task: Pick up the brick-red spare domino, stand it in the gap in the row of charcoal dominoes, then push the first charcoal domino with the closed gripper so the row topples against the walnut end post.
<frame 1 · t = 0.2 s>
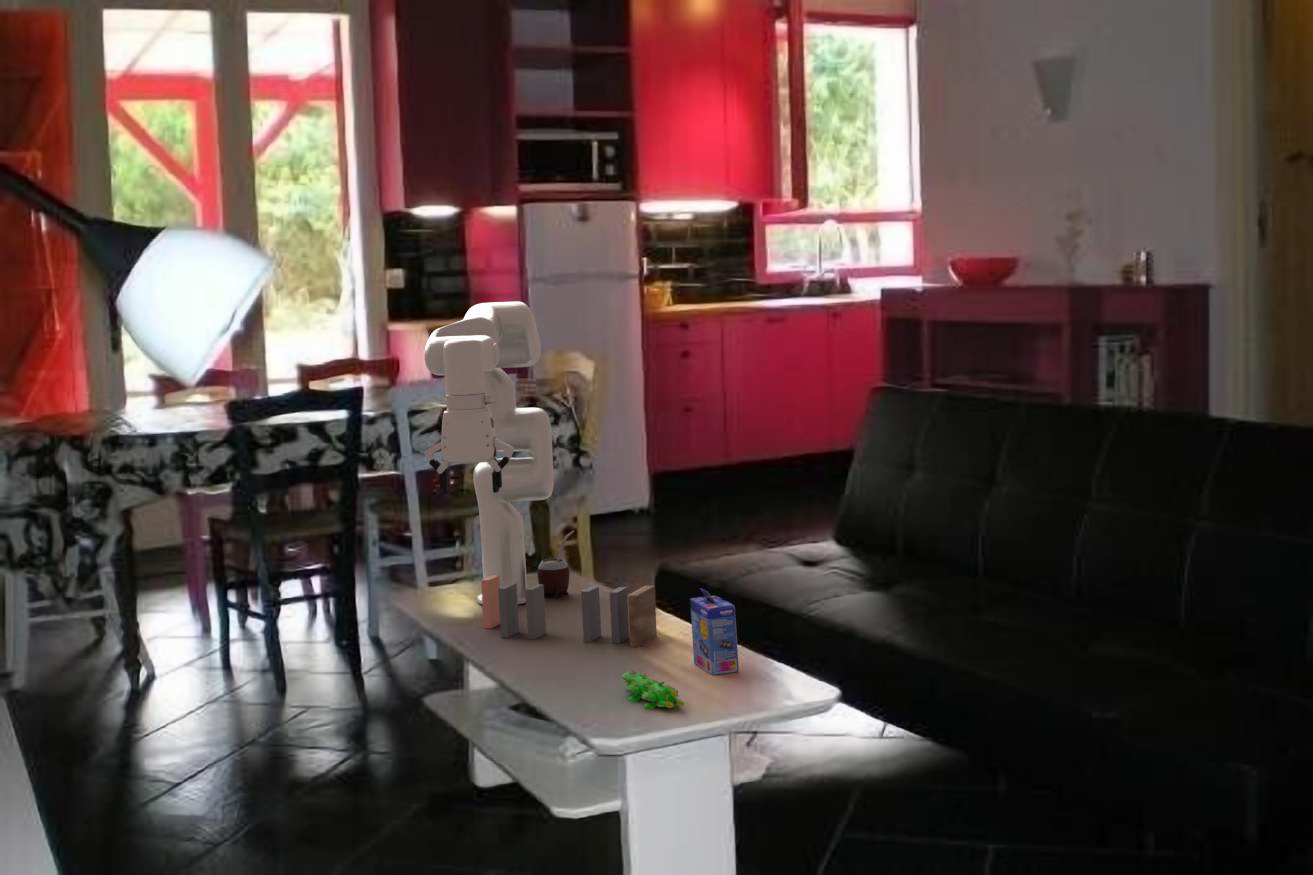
hand: (471, 492, 302), 31 cm above the table, tool pointing down, fingers open, 9 cm apart
mate gourd: (556, 596, 352), on the table
spare domino: (493, 625, 325), on the table
end post: (643, 641, 306), on the table
ink cartridge box: (715, 668, 284), on the table
domino 5: (620, 640, 308), on the table
domino 4: (592, 638, 310), on the table
domino 2: (537, 636, 314), on the table
domino 1: (510, 634, 316), on the table
green bumpy elongated piece: (652, 703, 264), on the table
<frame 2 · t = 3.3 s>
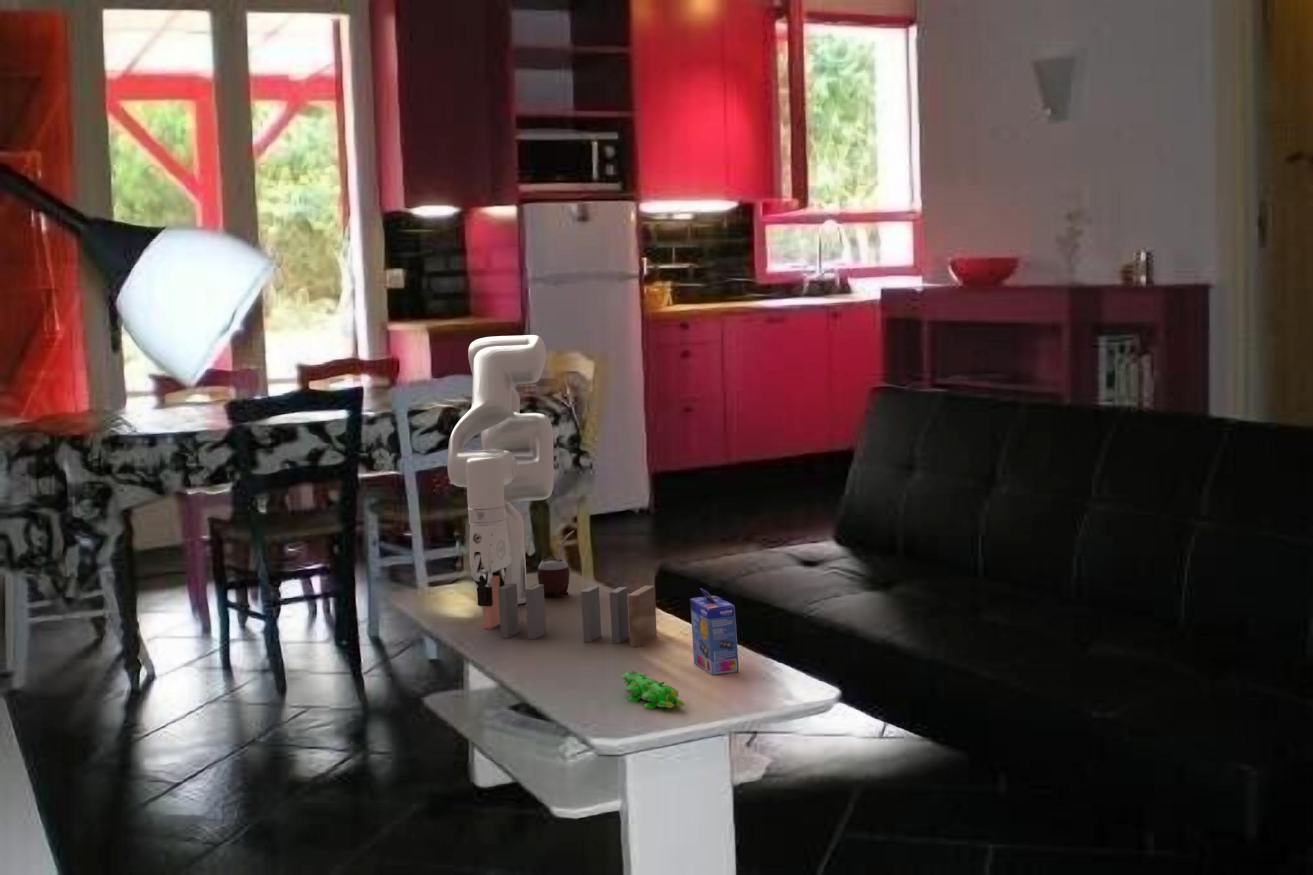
hand: (491, 601, 325), 5 cm above the table, tool pointing down, fingers closed on spare domino, 4 cm apart
spare domino: (493, 625, 325), on the table, touching gripper
everything else where it was.
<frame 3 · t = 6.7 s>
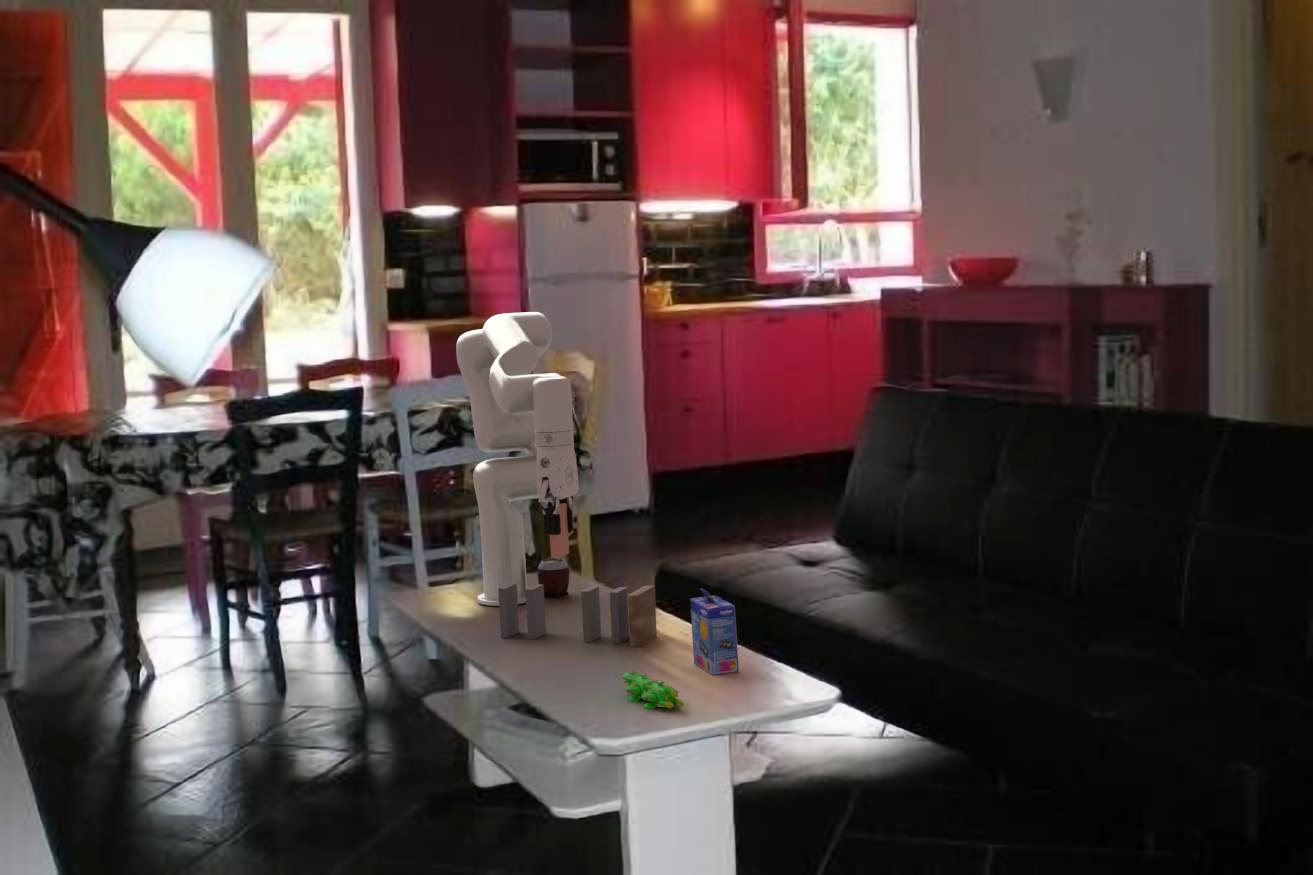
hand: (559, 530, 310), 21 cm above the table, tool pointing down, fingers closed on spare domino, 4 cm apart
spare domino: (560, 555, 310), point 16 cm above the table, touching gripper
everything else where it was.
when the fingers open (6 cm above the table, at t = 10.0 s): spare domino stays where it is, on the table.
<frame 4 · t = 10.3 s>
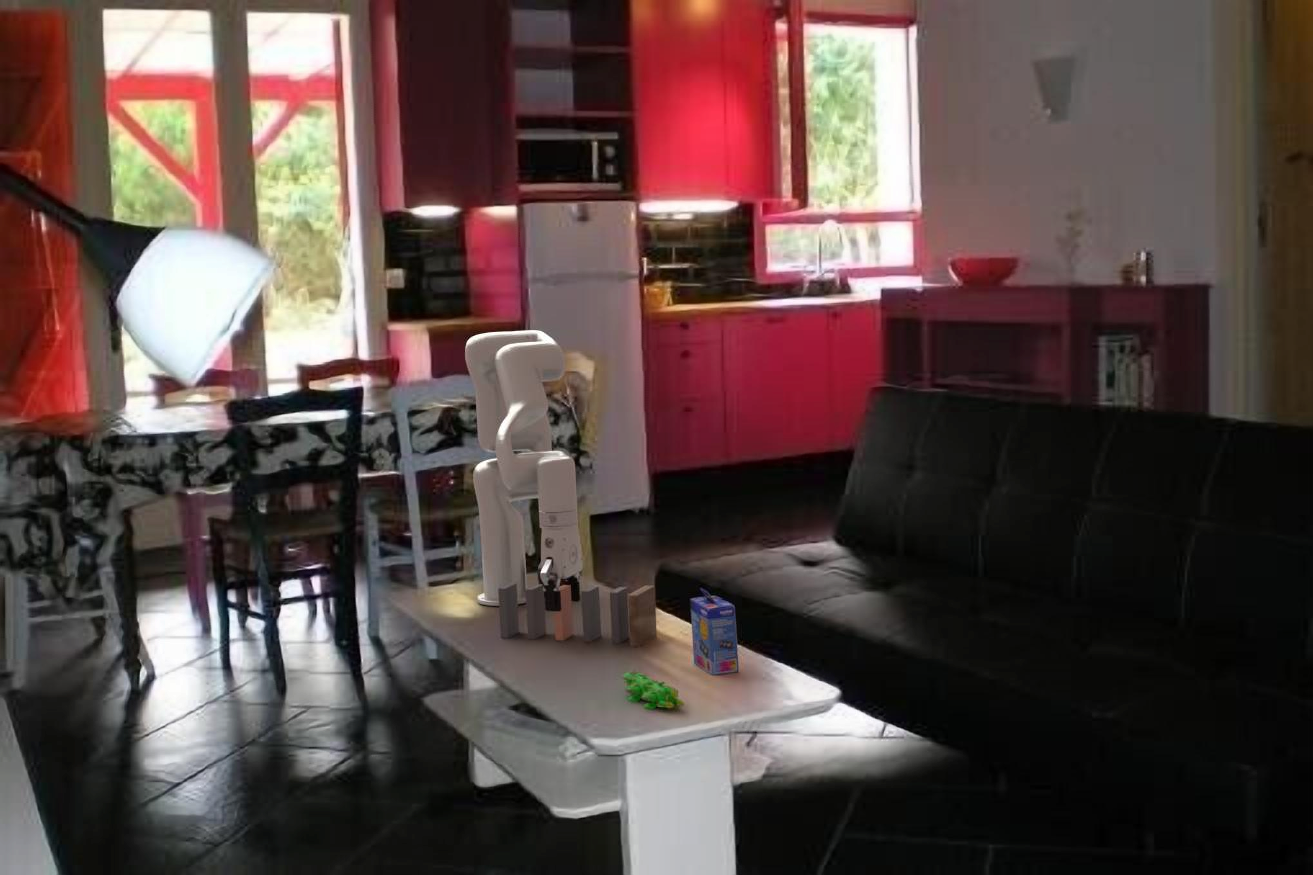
hand: (563, 605, 311), 6 cm above the table, tool pointing down, fingers open, 8 cm apart
spare domino: (564, 637, 312), on the table
everything else where it was.
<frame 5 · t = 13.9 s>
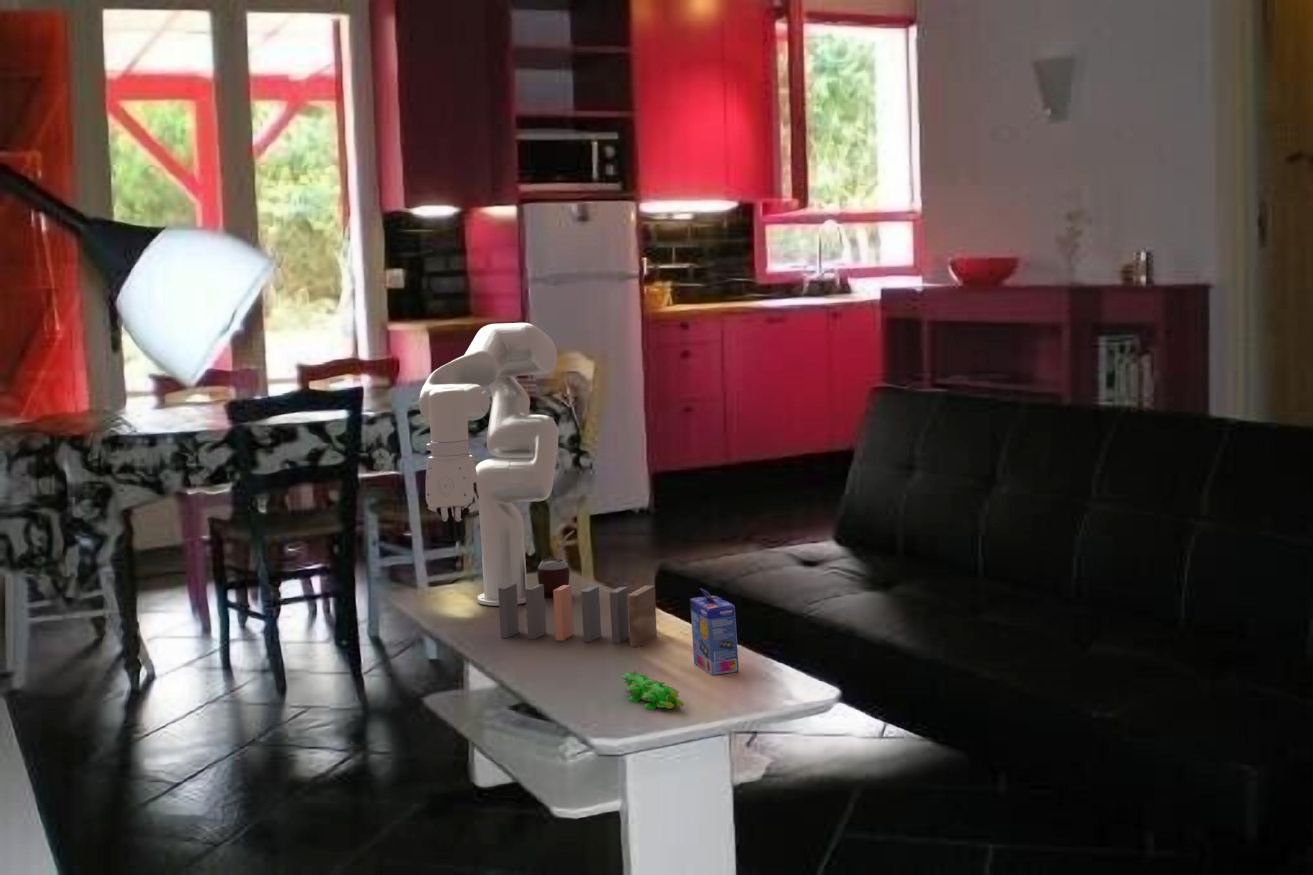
hand: (455, 539, 318), 19 cm above the table, tool pointing down, fingers closed
nothing on the table moved.
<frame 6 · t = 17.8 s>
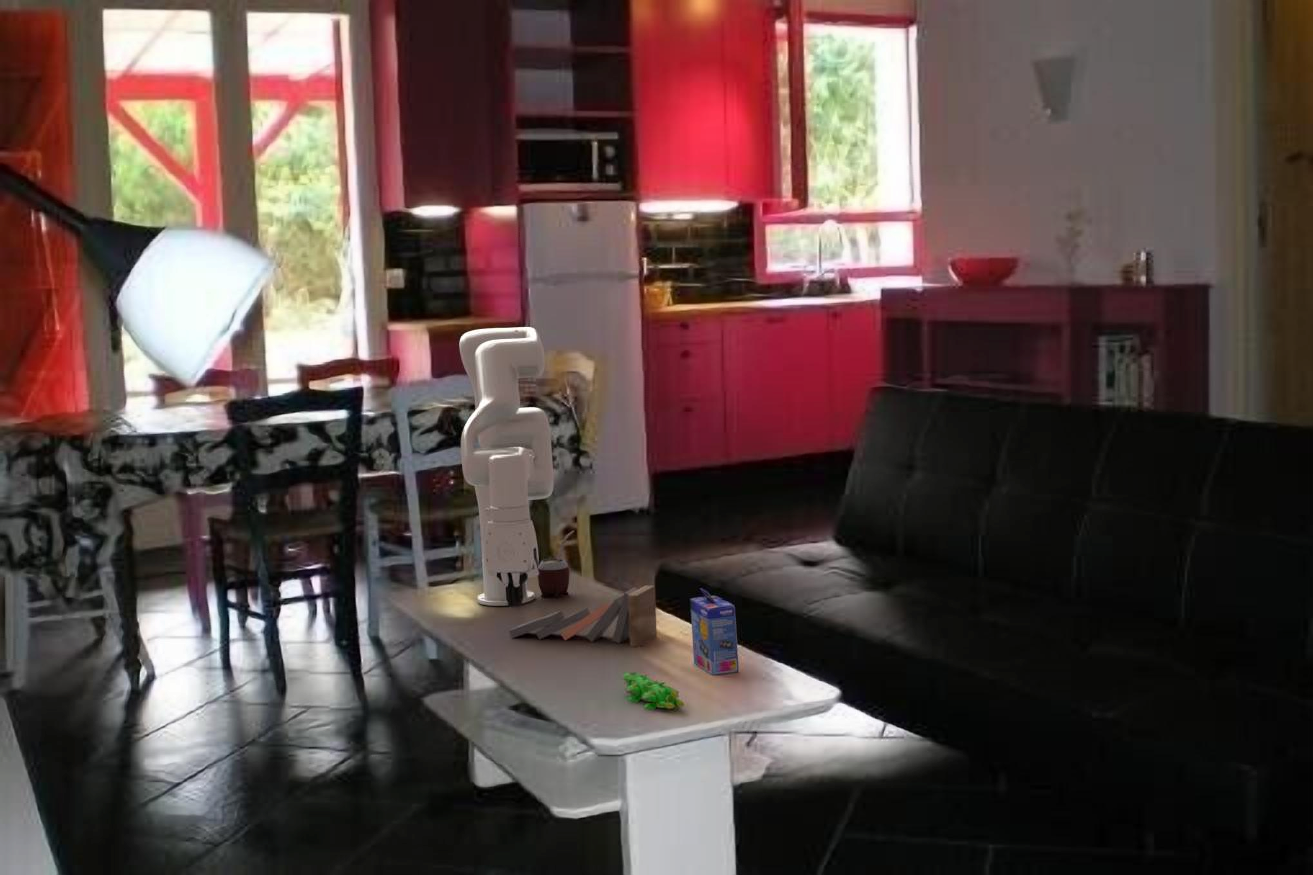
hand: (515, 604, 315), 6 cm above the table, tool pointing down, fingers closed
spare domino: (568, 634, 312), point 1 cm above the table, tilted 57°, touching domino 2, domino 4
domino 5: (620, 638, 308), on the table, tilted 18°, touching domino 4, end post
domino 4: (593, 636, 310), point 1 cm above the table, tilted 41°, touching domino 5, spare domino
domino 2: (542, 632, 314), point 1 cm above the table, tilted 65°, touching domino 1, spare domino
domino 1: (515, 631, 316), point 1 cm above the table, tilted 71°, touching domino 2
everything else where it was.
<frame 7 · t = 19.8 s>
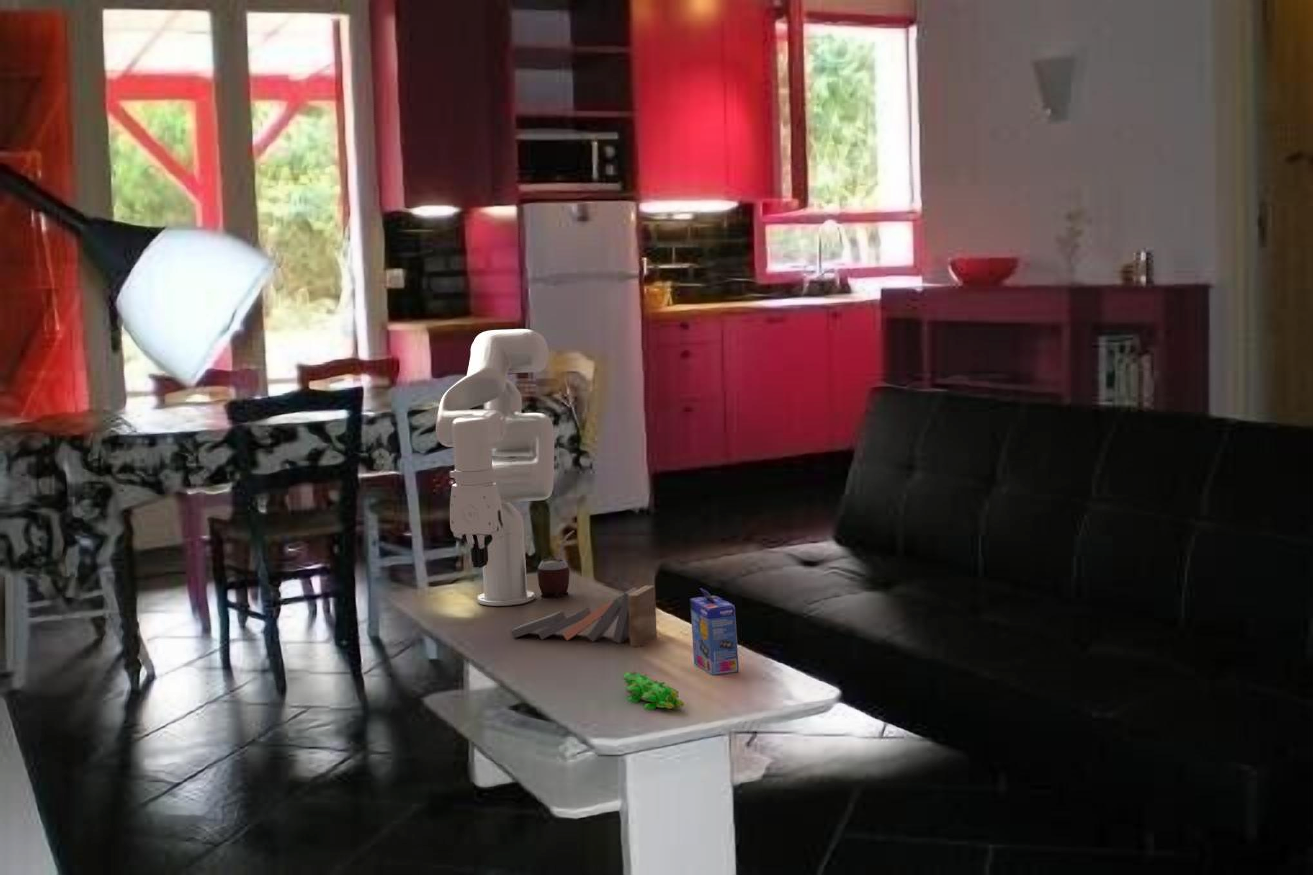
hand: (480, 565, 320), 13 cm above the table, tool pointing down, fingers closed
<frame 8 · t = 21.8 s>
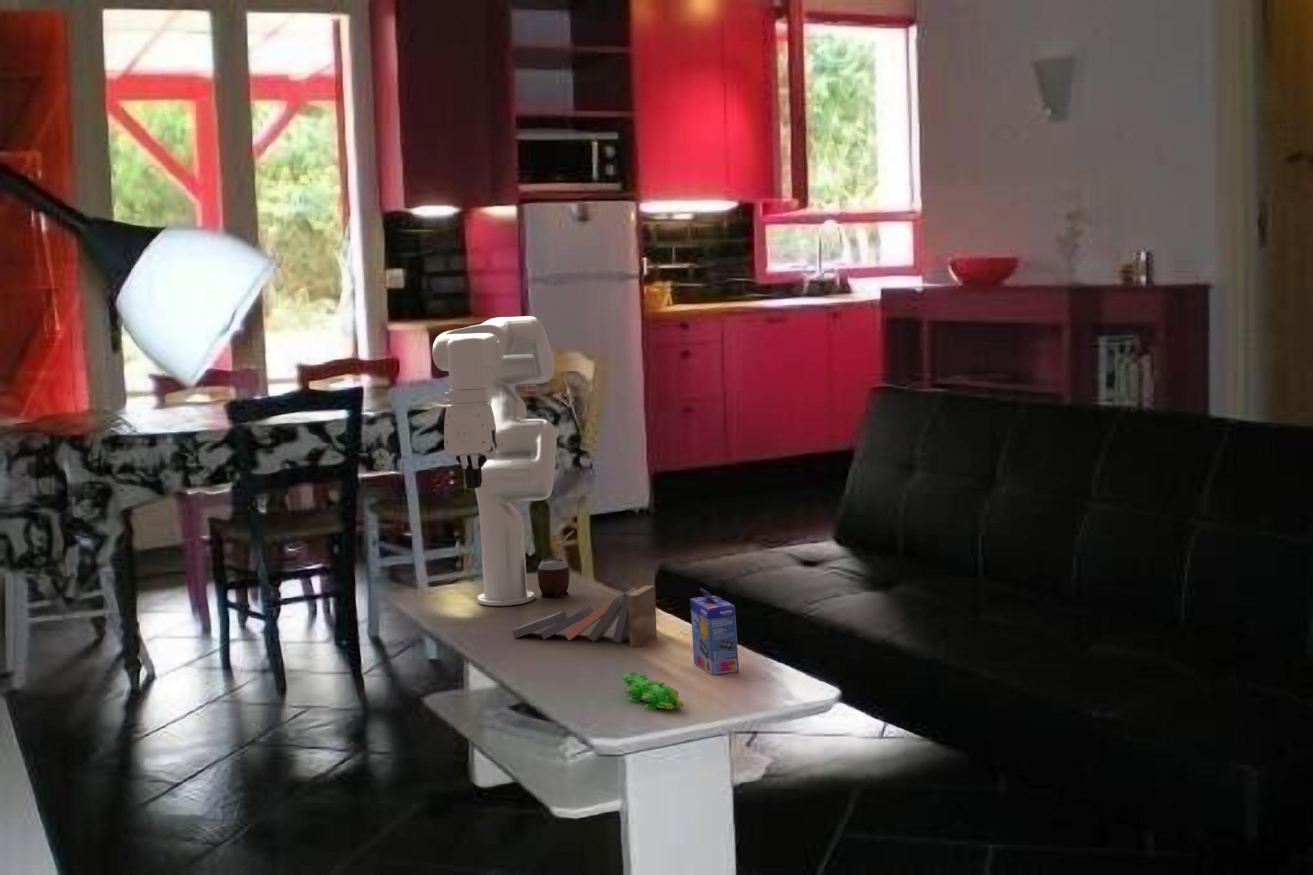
hand: (474, 487, 320), 29 cm above the table, tool pointing down, fingers closed
at the end: domino 5 tilted 17°; spare domino tilted 53°; spare domino moved 21.9 cm from its start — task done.
